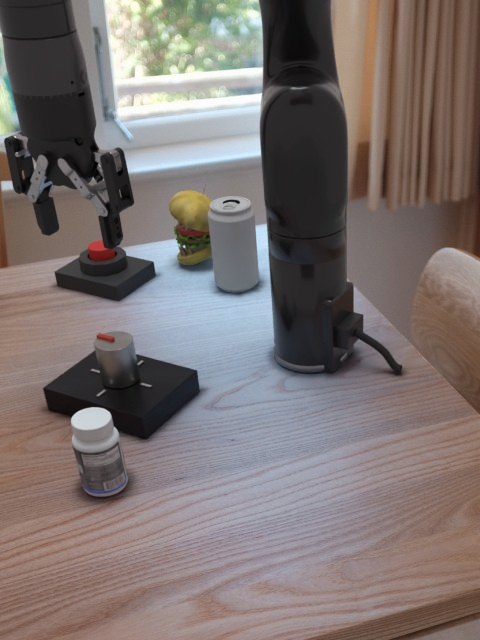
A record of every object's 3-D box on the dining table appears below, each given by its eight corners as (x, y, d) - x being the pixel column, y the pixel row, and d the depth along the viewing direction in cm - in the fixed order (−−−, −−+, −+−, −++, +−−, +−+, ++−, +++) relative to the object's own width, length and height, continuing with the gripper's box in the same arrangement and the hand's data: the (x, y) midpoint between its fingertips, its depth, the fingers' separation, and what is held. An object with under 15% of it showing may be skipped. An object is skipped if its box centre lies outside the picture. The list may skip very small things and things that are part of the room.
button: (120, 254, 131) (118, 242, 130) (104, 264, 128) (102, 252, 127) (100, 249, 132) (98, 238, 131) (84, 259, 129) (82, 247, 128)
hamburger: (186, 250, 140) (176, 172, 133) (230, 253, 139) (223, 175, 131) (169, 271, 134) (157, 191, 127) (215, 275, 133) (207, 194, 126)
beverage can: (262, 275, 133) (257, 194, 125) (255, 295, 128) (249, 212, 121) (220, 274, 134) (212, 193, 126) (211, 294, 129) (202, 211, 121)
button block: (156, 275, 134) (152, 249, 131) (118, 300, 127) (113, 274, 125) (96, 261, 137) (91, 236, 135) (57, 285, 131) (51, 259, 129)
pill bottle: (86, 471, 97) (70, 405, 92) (130, 469, 97) (117, 403, 92) (80, 499, 93) (63, 432, 88) (126, 497, 94) (112, 429, 88)
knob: (147, 373, 106) (140, 333, 103) (124, 392, 103) (116, 351, 100) (117, 365, 108) (109, 325, 105) (93, 383, 105) (85, 342, 102)
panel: (200, 391, 109) (197, 368, 107) (146, 439, 101) (141, 416, 99) (106, 365, 114) (102, 343, 112) (48, 409, 106) (42, 386, 104)
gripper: (-33, 83, 89) (8, 241, 100) (83, 100, 84) (113, 264, 95) (19, 65, 94) (53, 217, 105) (131, 80, 89) (155, 238, 100)
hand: (81, 239), depth 100 cm, fingers open, 8 cm apart
